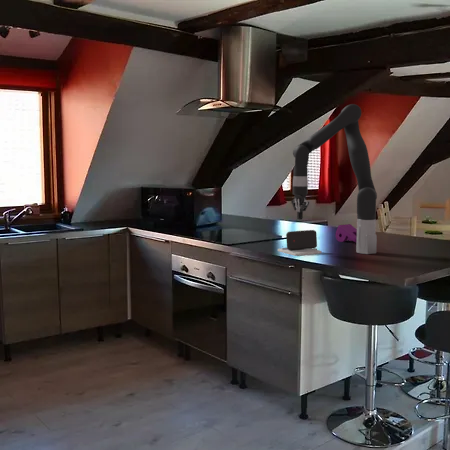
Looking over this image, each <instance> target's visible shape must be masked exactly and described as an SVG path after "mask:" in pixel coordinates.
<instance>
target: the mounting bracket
mask: <svg viewBox="0 0 450 450" xmlns="http://www.w3.org/2000/svg"><path fill="white" fill-rule="evenodd" d="M335 239H336V241H337V242H339V243H344V242H346V241H348V240H349V241H350V242H354V243H356V242H357V227H355V226H353V225H352V224H351V223H348V224H338V226H337V228H336V231H335ZM349 241H348V242H349Z"/></svg>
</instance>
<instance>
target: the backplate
mask: <svg viewBox="0 0 450 450" xmlns="http://www.w3.org/2000/svg"><path fill="white" fill-rule="evenodd" d="M282 248H283V247H281V248H277V252H280V253H283V254H286V255H287V254H288V255H291V256H294V257H296V256H297V257H299V256H306V255H308V256H309V255H318V254H322V250H320V249H317V250H313V251H303V252H292V251H293V250H288V249H287V250H282ZM300 250H303V249H300Z"/></svg>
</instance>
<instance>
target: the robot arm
mask: <svg viewBox="0 0 450 450" xmlns="http://www.w3.org/2000/svg"><path fill="white" fill-rule="evenodd" d="M361 117H362V109H361V106H359V105H357V104H355V103H351V104H348V105H346V106H345V107H344V108H342V109H341V111H340V113H339V114H338V116H336V117H335V118H334V119H332V120H331V121H330V122H329V123H327V124H326V125H324V126H322V127H321V128H320V129H318V130H317V131H316V132H314V133H313V134H312V135H310V136H309V137H308V138H307V139H306V140H304V141H302V142H300V144H298V145H297V146H295V147H294V148H293V151H292V156H293V158H294V166H293V175H292V176H293V177H292V195H294V196H293V199H292V200H291V201H290V203H291V204H292V207H293V209H294V211H295V212H296V218H297V220H299V221H300V220H301V221H302V220H303V218H304V217H303V215H304V214H303V213H304V212H306V210H307V209H308V207H309V205H310V201H308V200H307V195H308V194H309V193H308V190H309V186H308V185H309V183H308V182H309V178H308V165H309V158H310V154H311V153H312V152H313V151H315V150H317V149H319V148H320V147H322V146H323V145H324V144H326V143H327V142H328V141H329V140H330V139H332V138H333V137H334V136H335V135H336V134H337V133H339V132H340V131H341V130H344V133H345V138H346V143H347V150H348V156H349V160H350V164H351V167H352V170H353V173H354V175H355V178H356V181H357V188H358V192H357V196H356V217H357V218H356V229H357V242H355V243H356V245H355V246H356V247H355V250H356V251H355V252H356V253H357V254H363V255H371V254H377V242H378V239H377V238H378V237H377V236H378V235H377V234H376V228H377V226H376V225H377V223H376V221H377V209H376V208H377V198H378V193H377V191H376V188H375V185H374V182H373V177H372V171H371V163H370V156H369V151H368V147H367V144H366V143H365V140H364V138H363V136H362V133H361V131H360V125H359V123H360V122H359V121H360V119H361Z"/></svg>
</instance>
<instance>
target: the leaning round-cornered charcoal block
mask: <svg viewBox="0 0 450 450" xmlns="http://www.w3.org/2000/svg"><path fill="white" fill-rule="evenodd" d="M285 237H286V248H287V249H288V250H300V249H314V248H317V247H318V239H317V231H316V230H314V229H307V230H294V231H288V232H286V235H285Z"/></svg>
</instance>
